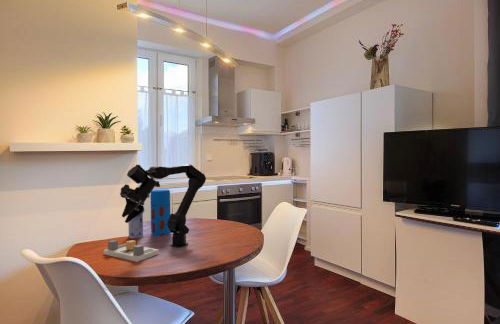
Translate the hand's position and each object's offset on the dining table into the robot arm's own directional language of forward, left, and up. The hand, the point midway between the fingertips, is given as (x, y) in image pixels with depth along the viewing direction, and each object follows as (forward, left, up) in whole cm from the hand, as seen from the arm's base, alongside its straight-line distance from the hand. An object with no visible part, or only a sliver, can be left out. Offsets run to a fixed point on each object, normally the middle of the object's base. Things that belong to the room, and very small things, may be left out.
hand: (124, 219), depth 133 cm
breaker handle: (-7, -5, -15) cm, 17 cm away
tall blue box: (-41, -21, -18) cm, 49 cm away
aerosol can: (-30, -29, -18) cm, 45 cm away
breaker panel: (-7, -5, -17) cm, 19 cm away
